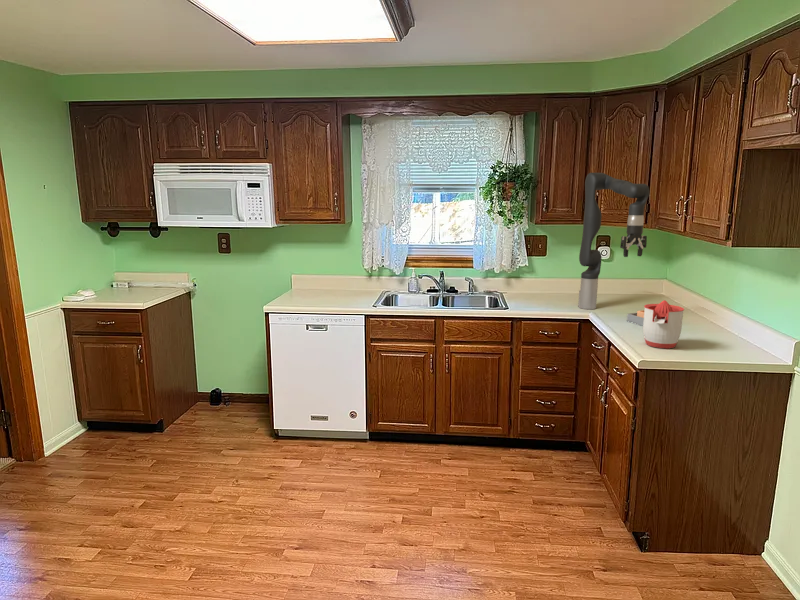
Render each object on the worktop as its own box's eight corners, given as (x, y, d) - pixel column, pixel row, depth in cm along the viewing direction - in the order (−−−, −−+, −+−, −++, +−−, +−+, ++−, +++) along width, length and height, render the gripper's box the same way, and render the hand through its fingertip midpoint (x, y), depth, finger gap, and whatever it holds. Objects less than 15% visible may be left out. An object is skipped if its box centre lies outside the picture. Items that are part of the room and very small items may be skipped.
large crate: (626, 321, 288) (627, 313, 287) (648, 319, 292) (649, 311, 291) (644, 326, 276) (644, 318, 276) (666, 324, 281) (667, 316, 280)
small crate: (636, 320, 287) (637, 310, 286) (645, 319, 289) (645, 310, 288) (648, 323, 280) (649, 314, 279) (656, 322, 281) (657, 313, 280)
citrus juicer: (636, 347, 240) (640, 301, 236) (644, 338, 254) (648, 295, 250) (676, 353, 231) (681, 306, 227) (682, 344, 245) (687, 299, 241)
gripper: (641, 223, 286) (638, 255, 289) (618, 224, 282) (615, 256, 285) (652, 224, 279) (649, 256, 282) (629, 225, 275) (626, 258, 278)
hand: (632, 256), depth 284 cm, fingers open, 8 cm apart
